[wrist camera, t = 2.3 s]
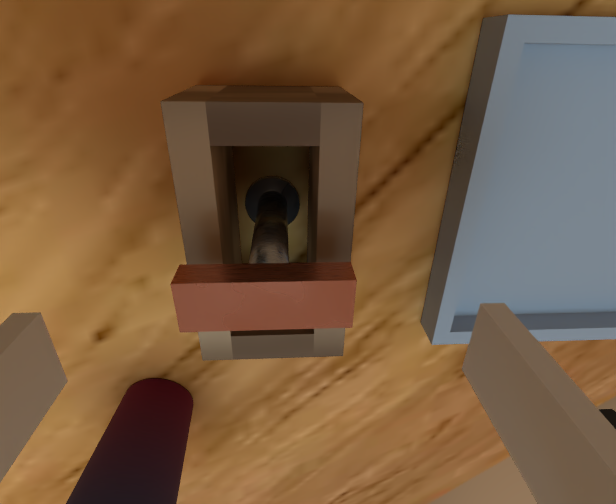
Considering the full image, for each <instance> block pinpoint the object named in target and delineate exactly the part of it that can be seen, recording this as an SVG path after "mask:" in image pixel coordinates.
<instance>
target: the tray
mask: <svg viewBox="0 0 616 504" xmlns="http://www.w3.org/2000/svg"><path fill="white" fill-rule="evenodd" d="M480 303H505V304H506V305H507V307H508V308H509V309H510V310H511V311H512V312H513V313H514V314H515V316H516V317H517V318H518V319H519V320H520V321H521V322H522V324H523V325H524V326H525V327H526V328H527V329H528V330H529V332H530V333H531V334H532V335H533V336H534V337H535V338H536V339H537V341H567V340H600V339H616V17H588V16H547V15H502V16H495V17H487V18H483V22H482V27H481V32H480V36H479V41H478V46H477V51H476V56H475V61H474V66H473V71H472V75H471V80H470V85H469V90H468V95H467V100H466V105H465V109H464V114H463V119H462V124H461V129H460V134H459V139H458V144H457V148H456V153H455V158H454V163H453V168H452V173H451V178H450V182H449V187H448V192H447V197H446V202H445V207H444V212H443V217H442V221H441V226H440V231H439V236H438V241H437V246H436V251H435V255H434V260H433V265H432V270H431V275H430V280H429V285H428V290H427V294H426V299H425V304H424V309H423V314H422V319H421V324H422V326H423V328H424V330H425V332H426V334H427V336H428V338H429V340H430V342H431V344H432V345H436V344H469V342H470V338H471V335H472V331H473V328H474V324H475V321H476V317H477V314H478V310H479V307H480Z"/></svg>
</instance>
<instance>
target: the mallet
mask: <svg viewBox="0 0 616 504" xmlns="http://www.w3.org/2000/svg"><path fill="white" fill-rule="evenodd" d="M245 206H246V211H247V213H248V215H249V217H250V218H251V219H252V220H253V221H254V222H255V226H254V233H253V239H252V245H251V252H250V258H249V264H193V265H179V267H178V269H177V271H176V274H175V276H174V278H173V280H172V282H171V288H172V294H173V299H174V304H175V309H176V314H177V319H178V325H179V330H180V332H210V331H246V330H283V329H320V328H352V325H353V314H354V303H355V293H356V282H357V280H356V277H355V274H354V270H353V267H352V264H351V262H313V263H289V256H288V224H290V223H291V222H292V221H293V220H294V219H295V218H296V216H297V214H298V211H299V206H300V203H299V196H298V193H297V191H296V189H295V187H294V186H293V185H292V184H291V183H290V182H289V181H287V180H286V179H283V178H281V177H277V176H267V177H263V178H261V179H259V180H257V181H256V182H254V183H253V184H252V185H251V187H250V188H249V190H248V192H247V195H246V200H245Z"/></svg>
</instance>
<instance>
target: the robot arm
mask: <svg viewBox="0 0 616 504" xmlns="http://www.w3.org/2000/svg"><path fill="white" fill-rule="evenodd" d="M462 370H463V372H464V374H465V376H466V377H467V379H468V381H469V383H470V384H471V386H472V388H473V390H474V392H475V393H476V395H477V397H478V399H479V400H480V402H481V404H482V406H483V408H484V409H485V411H486V413H487V415H488V416H489V418H490V420H491V422H492V424H493V425H494V427H495V429H496V431H497V432H498V434H499V436H500V438H501V440H502V441H503V443H504V445H505V447H506V449H507V450H508V452H509V454H510V456H511V457H512V459H513V461H514V463H515V464H516V466H517V468H518V470H519V472H520V473H521V475H522V477H523V479H524V480H525V482H526V484H527V486H528V488H529V489H530V491H531V493H532V495H533V496H534V498H535V500H536V502H537V504H616V412H615V411H614V410H612V409H601V410H598V409H597V408H596V406H595V405H594V404H593V403H592V402H591V401H590V400H589V398H588V397H587V396H586V395H585V394H584V393H583V392H582V391H581V389H580V388H579V387H578V386H577V385H576V384H575V383H574V381H573V380H572V379H571V378H570V377H569V376H568V375H567V373H566V372H565V371H564V370H563V369H562V368H561V367H560V366H559V364H558V363H557V362H556V361H555V360H554V359H553V358H552V356H551V355H550V354H549V353H548V352H547V351H546V350H545V349H544V347H543V346H542V345H541V344H540V343H539V342H538V341H537V339H536V338H535V337H534V336H533V335H532V334H531V333H530V332H529V330H528V329H527V328H526V327H525V326H524V325H523V324H522V322H521V321H520V320H519V319H518V318H517V317H516V316H515V314H514V313H513V312H512V311H511V310H510V309H509V308H508V307H507V305H506V304H505V303H480V307H479V310H478V314H477V317H476V321H475V324H474V328H473V331H472V335H471V338H470V342H469V346H468V349H467V353H466V356H465V360H464V363H463V367H462ZM66 383H67V378H66V376H65V373H64V371H63V368H62V366H61V363H60V361H59V358H58V355H57V353H56V350H55V348H54V345H53V343H52V340H51V338H50V335H49V333H48V330H47V328H46V325H45V323H44V320H43V318H42V315H41V313H12V314H11V315H10V316H9V317H8V318H7V319H6V320H5V321H4V322H3V323H2V324H1V325H0V482H1V481H2V479H3V478H4V476H5V475H6V473H7V472H8V470H9V469H10V467H11V466H12V464H13V463H14V461H15V460H16V458H17V457H18V455H19V454H20V452H21V451H22V449H23V448H24V446H25V445H26V443H27V442H28V440H29V439H30V437H31V435H32V434H33V432H34V431H35V429H36V428H37V426H38V425H39V423H40V422H41V420H42V419H43V417H44V416H45V414H46V413H47V411H48V410H49V408H50V407H51V405H52V404H53V402H54V401H55V399H56V398H57V396H58V395H59V393H60V392H61V390H62V389H63V387H64V386H65V384H66Z"/></svg>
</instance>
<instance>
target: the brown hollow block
mask: <svg viewBox="0 0 616 504" xmlns="http://www.w3.org/2000/svg"><path fill="white" fill-rule="evenodd" d="M160 102H161V108H162V114H163V120H164V126H165V132H166V138H167V144H168V151H169V157H170V163H171V169H172V175H173V181H174V187H175V194H176V200H177V206H178V212H179V218H180V224H181V230H182V237H183V243H184V249H185V255H186V261H187V265H193V264H242V258H241V246H240V234H239V221H238V209H237V196H236V184H235V172H234V159H233V147H232V146H309V179H308V238H307V263H313V262H351V251H352V238H353V226H354V214H355V202H356V190H357V177H358V165H359V153H360V141H361V129H362V117H363V104H364V103H363V102H361V101H360V100H358V99H357V98H356V97H354V96H353V95H351V94H350V93H349V92H347V91H346V90H344V89H343V88H341V87H312V86H227V85H195V86H193V87H191V88H189V89H186V90H184V91H182V92H180V93H178V94H175V95H173V96H171V97H169V98H167V99H164V100H162V101H160ZM198 335H199V341H200V347H201V353H202V359H203V360H232V359H263V358H295V357H326V356H343V348H344V336H345V328H320V329H283V330H246V331H210V332H198Z"/></svg>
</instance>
